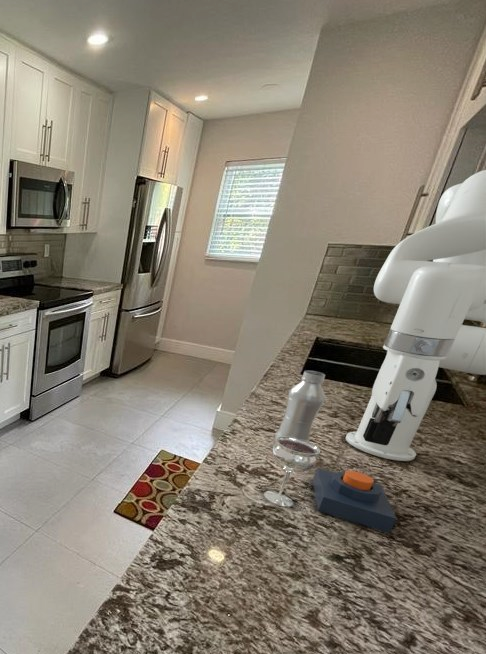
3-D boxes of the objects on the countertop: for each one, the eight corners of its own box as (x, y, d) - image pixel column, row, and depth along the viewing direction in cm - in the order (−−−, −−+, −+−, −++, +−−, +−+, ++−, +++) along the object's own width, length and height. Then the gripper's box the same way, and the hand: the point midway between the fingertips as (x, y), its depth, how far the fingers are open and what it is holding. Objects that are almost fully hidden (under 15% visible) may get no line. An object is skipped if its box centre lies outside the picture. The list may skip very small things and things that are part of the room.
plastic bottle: (310, 461, 93) (341, 379, 86) (277, 457, 94) (305, 376, 87) (296, 447, 99) (323, 370, 92) (265, 444, 100) (290, 367, 93)
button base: (312, 480, 86) (320, 460, 84) (375, 498, 81) (384, 476, 79) (317, 511, 77) (326, 488, 75) (389, 533, 71) (401, 509, 70)
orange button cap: (340, 475, 80) (344, 468, 79) (367, 483, 78) (371, 475, 77) (343, 485, 77) (347, 477, 76) (372, 493, 74) (375, 485, 74)
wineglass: (262, 504, 78) (281, 449, 73) (254, 485, 84) (271, 433, 79) (304, 514, 76) (326, 458, 71) (293, 493, 81) (313, 440, 77)
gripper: (466, 360, 60) (414, 467, 66) (434, 338, 71) (392, 431, 78) (397, 351, 63) (354, 453, 70) (377, 331, 75) (342, 420, 82)
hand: (374, 441), depth 74 cm, fingers closed
